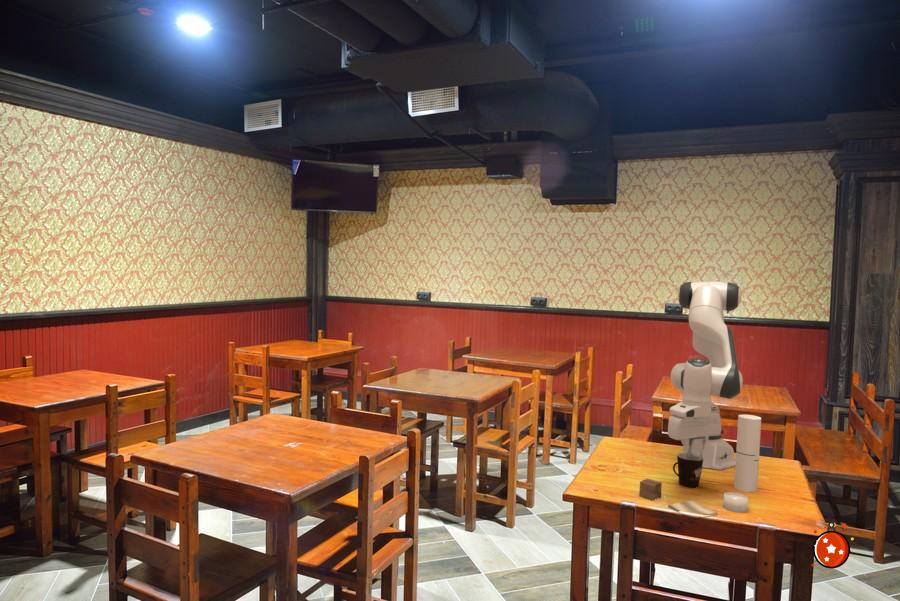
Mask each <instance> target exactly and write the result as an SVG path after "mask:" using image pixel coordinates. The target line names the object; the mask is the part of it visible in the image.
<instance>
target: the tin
mask: <svg viewBox="0 0 900 601" xmlns="http://www.w3.org/2000/svg"><path fill="white" fill-rule="evenodd" d="M688 445H689V446H691V451H689V452H686V458H687V459H689V460H695V461H700V460H702V450H703V437H697V438H690V439H689V442H688Z"/></svg>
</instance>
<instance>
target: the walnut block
mask: <svg viewBox="0 0 900 601" xmlns="http://www.w3.org/2000/svg"><path fill="white" fill-rule="evenodd" d="M662 486H663V484H662V482H661V481H659V480H655V479H651V478H645V479H643V480H641V481H639V493H638V496H639V497H640V498H644V499H647V500H649V499H650V500H649V501H653V500H654V501H656V500H658V499H660V498H662ZM657 498H658V499H657ZM655 499H656V500H655Z"/></svg>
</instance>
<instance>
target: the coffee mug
mask: <svg viewBox="0 0 900 601" xmlns="http://www.w3.org/2000/svg"><path fill="white" fill-rule="evenodd" d="M676 458H677V460H676V462H674V464H673V465H672V471H673V473H674V475H676V476H678V484H679V486H681V487H684V488H688V489H697V488H699V487H700V480H701V476H702V470H703V467H702V465H703V459H704V458H703V457H702V460H700V461H695V460H689V459H687V458H686V453H684V452H679V453H677V455H676ZM676 466H677V471H678V472H676V470H675V469H676ZM696 487H697V488H696Z"/></svg>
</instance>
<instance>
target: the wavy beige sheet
mask: <svg viewBox="0 0 900 601" xmlns="http://www.w3.org/2000/svg"><path fill="white" fill-rule="evenodd" d="M667 508H669V509H671V510H673V511H675V510H677V511H683V512H690V513H697V514H703V515H714V516H716V515H715V514H717V515H718V512H717V511H715V510H713V509H712V508H709V507H707V506H704V505H703V504H700V503H698V502H696V501H694V500H687V501H682V502H675V503H670V504H668V505H667ZM677 511H676V512H677Z"/></svg>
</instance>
